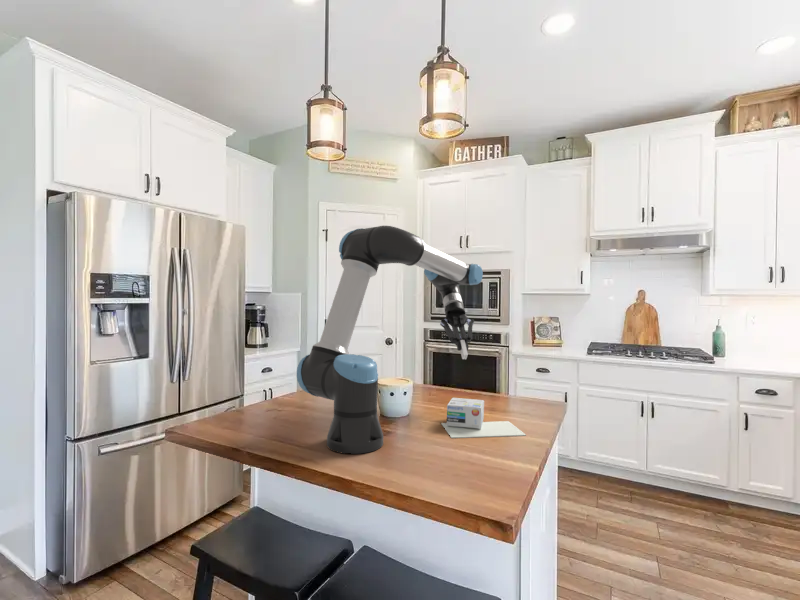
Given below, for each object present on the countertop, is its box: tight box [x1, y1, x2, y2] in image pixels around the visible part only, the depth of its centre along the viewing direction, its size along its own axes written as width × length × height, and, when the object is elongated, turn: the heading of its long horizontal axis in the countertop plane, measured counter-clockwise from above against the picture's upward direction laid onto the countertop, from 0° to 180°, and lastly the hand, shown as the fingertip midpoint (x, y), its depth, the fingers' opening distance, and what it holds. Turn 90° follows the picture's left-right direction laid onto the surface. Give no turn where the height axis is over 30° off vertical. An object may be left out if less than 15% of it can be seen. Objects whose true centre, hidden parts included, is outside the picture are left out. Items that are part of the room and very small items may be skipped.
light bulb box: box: [446, 397, 485, 429], centre depth 130 cm, size 11×7×11 cm
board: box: [441, 420, 527, 439], centre depth 125 cm, size 22×13×1 cm, turn 97°
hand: (465, 356), depth 144 cm, fingers closed
